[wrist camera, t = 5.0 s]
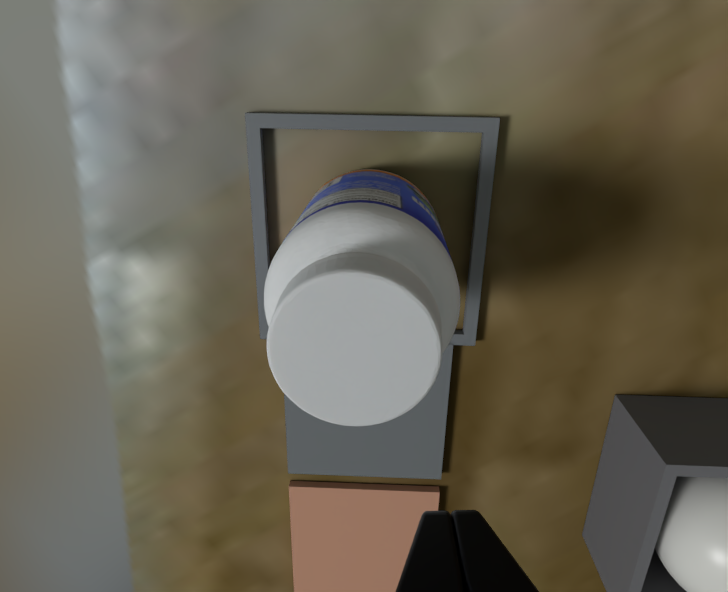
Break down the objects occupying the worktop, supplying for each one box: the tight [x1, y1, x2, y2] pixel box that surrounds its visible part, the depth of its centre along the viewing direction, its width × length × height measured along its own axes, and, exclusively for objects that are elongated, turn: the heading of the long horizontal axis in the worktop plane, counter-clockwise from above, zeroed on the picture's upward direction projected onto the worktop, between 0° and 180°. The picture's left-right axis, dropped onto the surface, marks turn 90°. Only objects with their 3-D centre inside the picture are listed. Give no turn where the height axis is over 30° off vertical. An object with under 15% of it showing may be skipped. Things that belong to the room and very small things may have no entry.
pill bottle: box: [264, 169, 460, 426], centre depth 16 cm, size 5×5×10 cm
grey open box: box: [582, 395, 728, 592], centre depth 22 cm, size 8×8×4 cm
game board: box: [245, 112, 500, 592], centre depth 25 cm, size 9×32×1 cm, turn 179°
